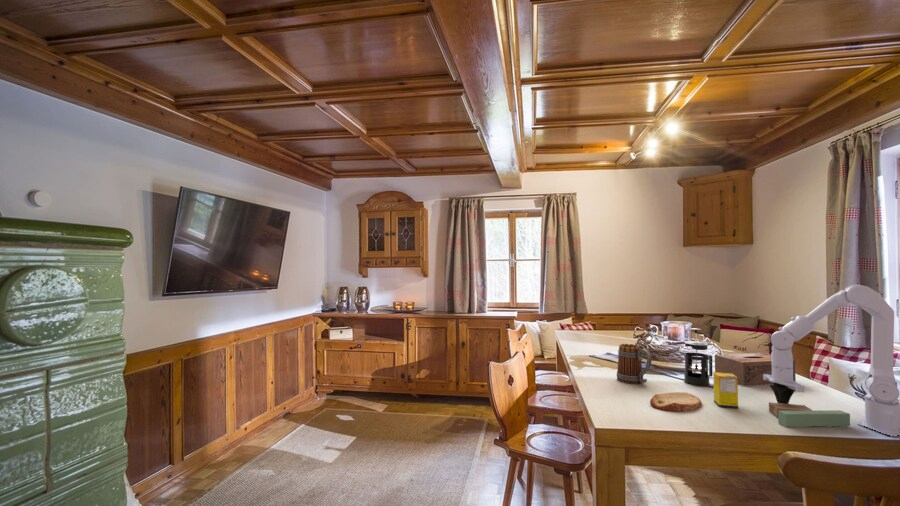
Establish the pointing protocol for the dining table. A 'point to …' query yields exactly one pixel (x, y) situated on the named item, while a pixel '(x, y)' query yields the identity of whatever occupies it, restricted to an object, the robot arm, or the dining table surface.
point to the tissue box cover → (747, 367)
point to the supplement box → (725, 390)
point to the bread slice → (675, 402)
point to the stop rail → (813, 418)
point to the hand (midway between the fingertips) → (782, 407)
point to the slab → (785, 408)
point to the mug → (632, 364)
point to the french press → (691, 377)
